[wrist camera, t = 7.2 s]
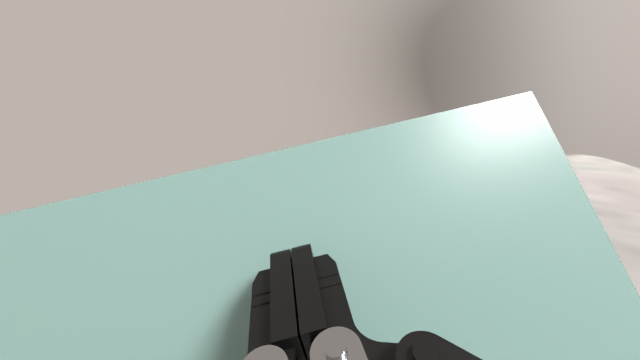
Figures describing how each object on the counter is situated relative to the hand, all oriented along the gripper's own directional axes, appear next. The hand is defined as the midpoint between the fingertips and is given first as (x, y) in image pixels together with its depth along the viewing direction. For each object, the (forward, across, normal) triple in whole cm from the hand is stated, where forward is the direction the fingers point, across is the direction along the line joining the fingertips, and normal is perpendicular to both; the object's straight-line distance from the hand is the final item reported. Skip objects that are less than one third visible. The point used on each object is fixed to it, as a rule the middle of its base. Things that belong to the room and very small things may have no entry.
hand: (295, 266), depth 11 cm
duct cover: (0, 0, +3) cm, 3 cm away
